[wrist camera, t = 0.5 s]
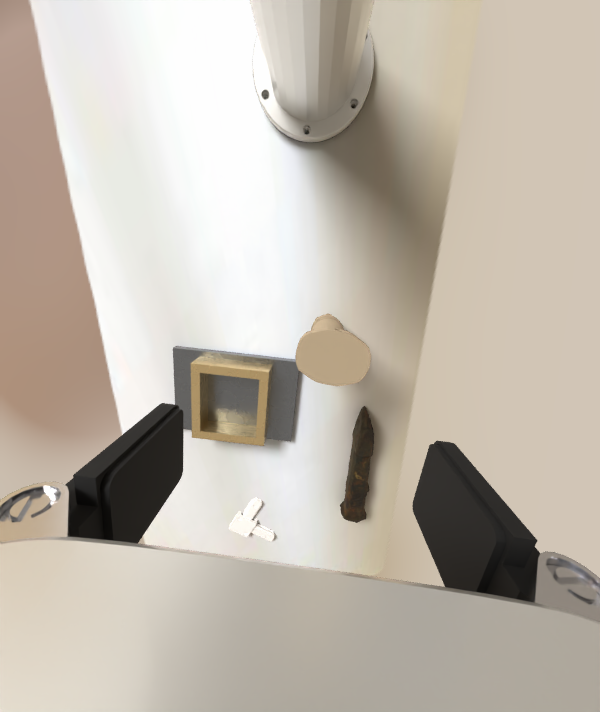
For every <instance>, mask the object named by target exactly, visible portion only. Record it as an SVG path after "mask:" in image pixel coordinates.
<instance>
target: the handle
mask: <svg viewBox="0 0 600 712" xmlns="http://www.w3.org/2000/svg"><path fill="white" fill-rule="evenodd" d="M370 362H371V354H370V350H369V347H368V346H367V345H366V344H365V343H364V342H363V341H361V340H360V339H359V338H357V337H356V336H355V335H353V334H352V333H350V332H348V331H345V330H344V328H343V326H342V324H341V323H340V321H339V320H338V319H337V318H335V317H333V316H332V315H331V314H326V315H322V316H320V317H317V318H316V319H315V321H314V323H313V325H312V328H311V331H308V332H306V333H305V334H304V335H303V336H302V338H301V339H300V341H299V343H298V347H297V350H296V365H297V367H298V370H299V371H301V372H302V373H303V374H305V375H306V376H307V377H309V378H310V379H312V380H314V381H316V382H319V383H322V384H327V385H332V386H344V385H349V384H353V383H358V382H359V381H361V380H362V379H363V378H364V377H365V375H366V373H367V372H368V369H369V366H370Z"/></svg>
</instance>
